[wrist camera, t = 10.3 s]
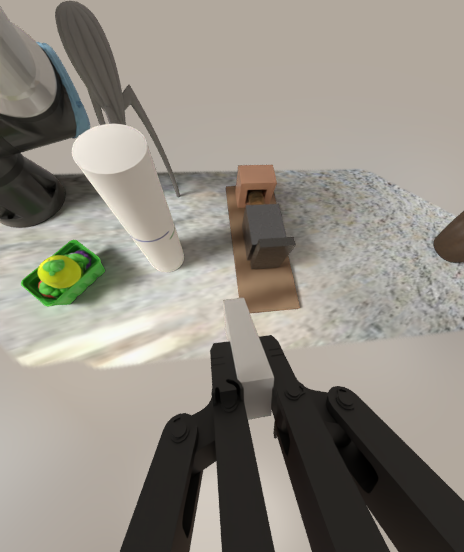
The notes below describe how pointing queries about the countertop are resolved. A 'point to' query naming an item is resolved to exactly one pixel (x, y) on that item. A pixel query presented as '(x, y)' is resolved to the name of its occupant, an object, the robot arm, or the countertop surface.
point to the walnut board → (259, 270)
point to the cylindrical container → (131, 189)
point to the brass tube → (268, 242)
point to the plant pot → (451, 241)
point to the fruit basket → (64, 275)
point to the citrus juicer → (99, 69)
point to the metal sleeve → (261, 225)
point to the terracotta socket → (254, 182)
